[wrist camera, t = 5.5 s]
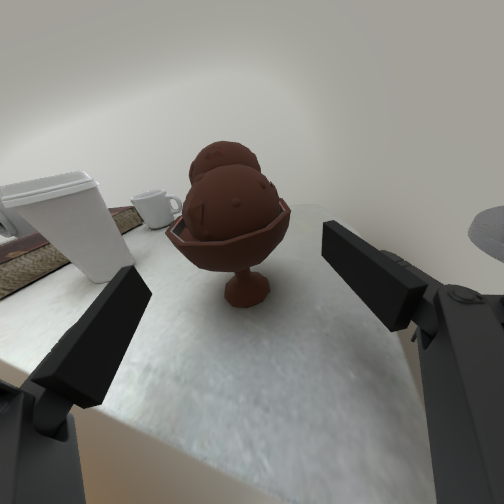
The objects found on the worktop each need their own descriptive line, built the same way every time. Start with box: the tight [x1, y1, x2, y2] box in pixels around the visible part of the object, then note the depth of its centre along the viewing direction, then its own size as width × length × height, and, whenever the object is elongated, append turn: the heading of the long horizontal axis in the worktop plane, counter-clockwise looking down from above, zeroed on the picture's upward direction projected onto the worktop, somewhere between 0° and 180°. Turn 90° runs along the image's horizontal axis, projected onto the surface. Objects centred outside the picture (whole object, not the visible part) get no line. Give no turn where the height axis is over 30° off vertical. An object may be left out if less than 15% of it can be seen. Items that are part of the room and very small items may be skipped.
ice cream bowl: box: [165, 141, 291, 308], centre depth 17 cm, size 11×11×15 cm
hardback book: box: [0, 206, 144, 298], centre depth 41 cm, size 29×19×5 cm, turn 160°
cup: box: [130, 189, 182, 229], centre depth 44 cm, size 11×8×8 cm
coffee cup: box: [0, 170, 135, 283], centre depth 26 cm, size 10×10×15 cm
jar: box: [0, 190, 37, 238], centre depth 53 cm, size 19×15×25 cm
